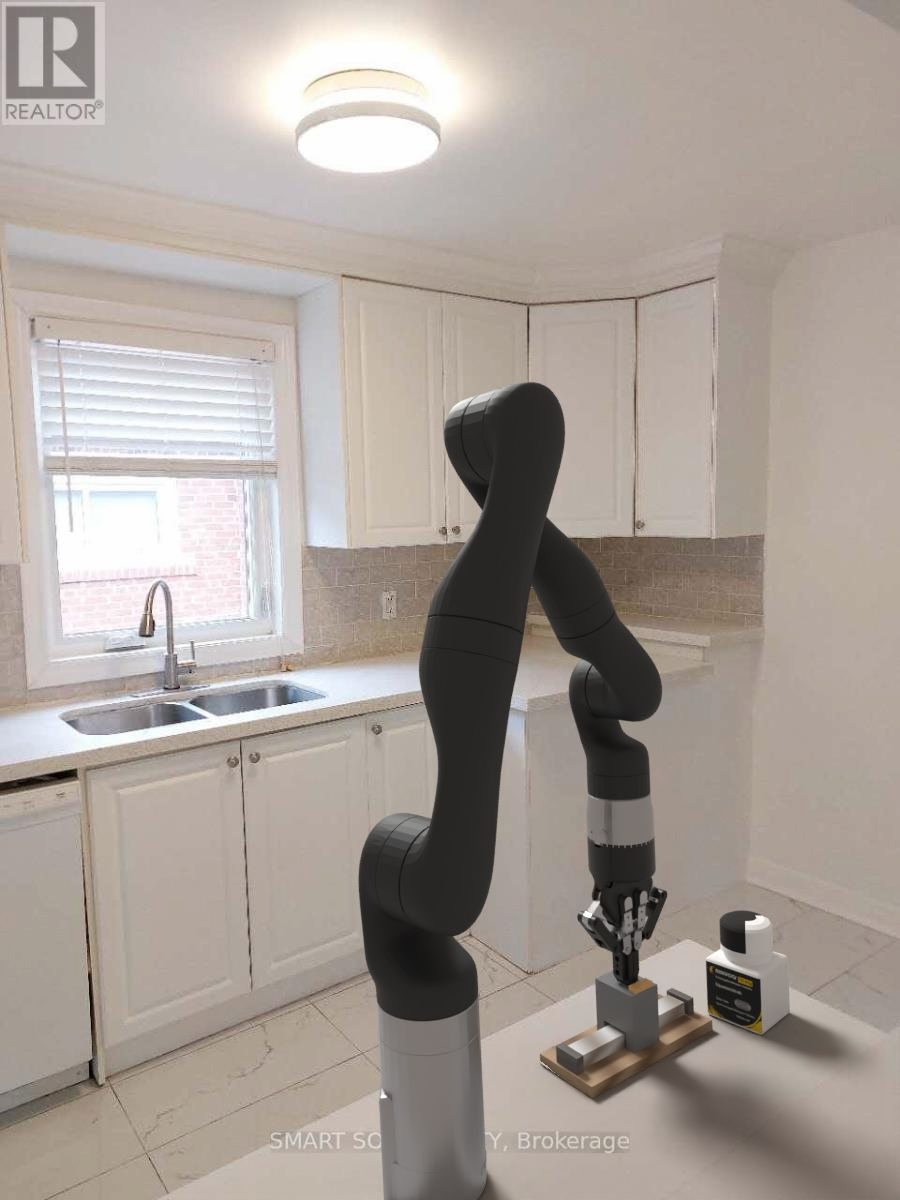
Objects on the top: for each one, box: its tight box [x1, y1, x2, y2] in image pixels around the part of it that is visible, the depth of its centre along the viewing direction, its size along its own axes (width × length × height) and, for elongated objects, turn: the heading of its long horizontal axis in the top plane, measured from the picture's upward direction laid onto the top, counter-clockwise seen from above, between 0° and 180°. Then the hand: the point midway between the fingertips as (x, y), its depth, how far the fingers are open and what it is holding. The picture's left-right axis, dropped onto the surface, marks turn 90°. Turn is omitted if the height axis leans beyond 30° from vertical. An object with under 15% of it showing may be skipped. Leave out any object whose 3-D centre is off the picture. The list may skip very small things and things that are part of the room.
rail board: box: [539, 987, 714, 1099], centre depth 97 cm, size 20×8×3 cm, turn 126°
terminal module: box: [594, 970, 659, 1054], centre depth 97 cm, size 4×6×7 cm
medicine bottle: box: [705, 910, 791, 1036], centre depth 103 cm, size 7×7×12 cm
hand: (626, 980), depth 97 cm, fingers closed
